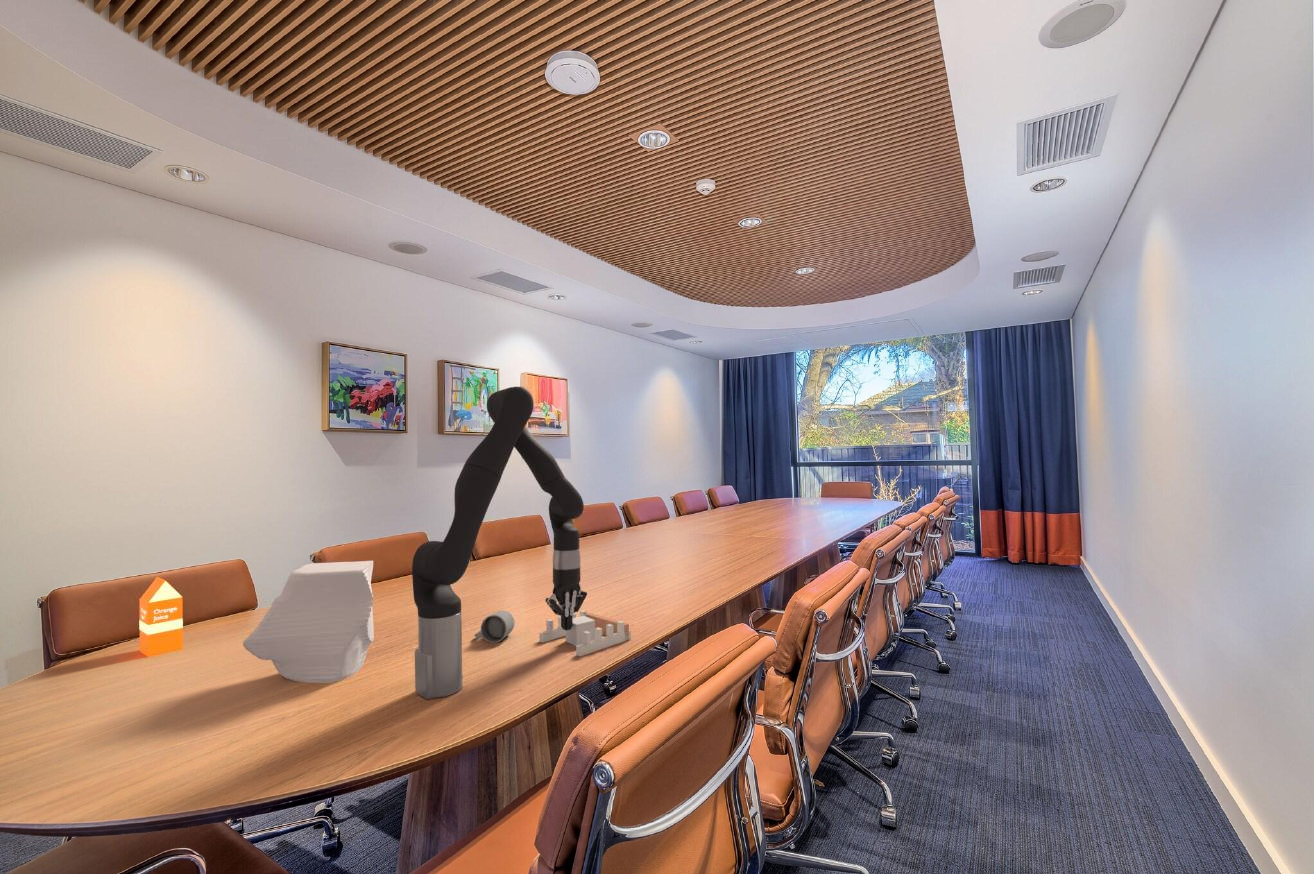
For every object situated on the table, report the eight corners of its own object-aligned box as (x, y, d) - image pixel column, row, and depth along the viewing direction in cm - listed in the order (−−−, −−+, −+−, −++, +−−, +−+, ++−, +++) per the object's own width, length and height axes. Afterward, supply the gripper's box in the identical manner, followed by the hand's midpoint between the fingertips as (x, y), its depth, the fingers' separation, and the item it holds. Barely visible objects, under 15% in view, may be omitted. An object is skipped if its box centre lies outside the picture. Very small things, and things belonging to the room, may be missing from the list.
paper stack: (358, 684, 136) (356, 573, 137) (239, 688, 135) (238, 577, 136) (395, 652, 157) (393, 556, 158) (292, 656, 156) (291, 559, 157)
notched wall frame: (580, 656, 151) (579, 635, 151) (539, 641, 164) (539, 622, 164) (630, 639, 164) (630, 619, 164) (589, 626, 177) (589, 608, 177)
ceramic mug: (516, 634, 171) (515, 607, 171) (506, 643, 163) (505, 615, 163) (481, 634, 172) (480, 608, 173) (470, 643, 164) (469, 615, 164)
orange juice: (147, 657, 158) (147, 583, 159) (139, 651, 163) (138, 579, 164) (183, 649, 164) (183, 577, 165) (174, 643, 170) (173, 573, 170)
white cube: (595, 641, 163) (595, 620, 163) (576, 646, 159) (576, 624, 159) (584, 636, 167) (583, 615, 167) (565, 641, 164) (565, 619, 164)
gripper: (554, 571, 153) (555, 638, 152) (594, 563, 162) (594, 626, 162) (538, 567, 158) (538, 632, 158) (577, 560, 168) (577, 621, 167)
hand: (566, 629), depth 160 cm, fingers closed
